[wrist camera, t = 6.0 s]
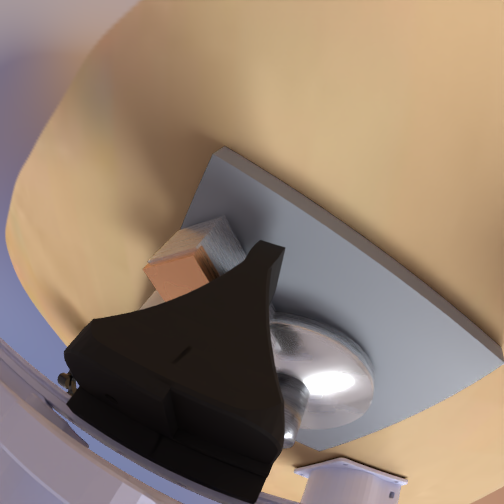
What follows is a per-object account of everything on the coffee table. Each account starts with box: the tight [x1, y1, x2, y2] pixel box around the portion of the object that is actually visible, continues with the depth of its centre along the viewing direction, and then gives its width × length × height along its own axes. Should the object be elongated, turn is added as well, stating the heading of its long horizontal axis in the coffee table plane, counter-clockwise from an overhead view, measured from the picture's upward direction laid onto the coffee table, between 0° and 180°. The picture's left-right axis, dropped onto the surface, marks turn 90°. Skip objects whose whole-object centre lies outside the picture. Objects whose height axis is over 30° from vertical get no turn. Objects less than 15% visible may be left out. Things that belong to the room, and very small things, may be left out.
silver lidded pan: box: [143, 215, 375, 449], centre depth 13 cm, size 14×9×4 cm, turn 30°
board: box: [139, 146, 504, 451], centre depth 15 cm, size 16×16×4 cm
